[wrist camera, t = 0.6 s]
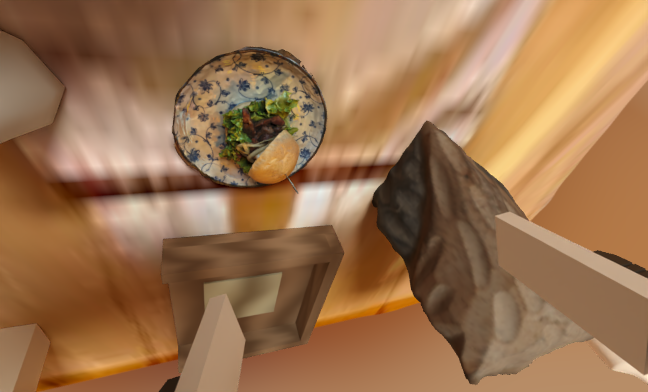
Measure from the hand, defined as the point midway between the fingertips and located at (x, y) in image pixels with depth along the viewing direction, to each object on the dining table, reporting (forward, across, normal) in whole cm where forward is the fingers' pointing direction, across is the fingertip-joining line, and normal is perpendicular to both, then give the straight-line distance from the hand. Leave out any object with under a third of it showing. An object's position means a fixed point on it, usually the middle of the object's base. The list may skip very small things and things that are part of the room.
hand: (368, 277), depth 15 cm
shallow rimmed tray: (+24, -12, -13) cm, 30 cm away
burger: (+14, -4, +8) cm, 17 cm away
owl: (+21, +12, -2) cm, 24 cm away
